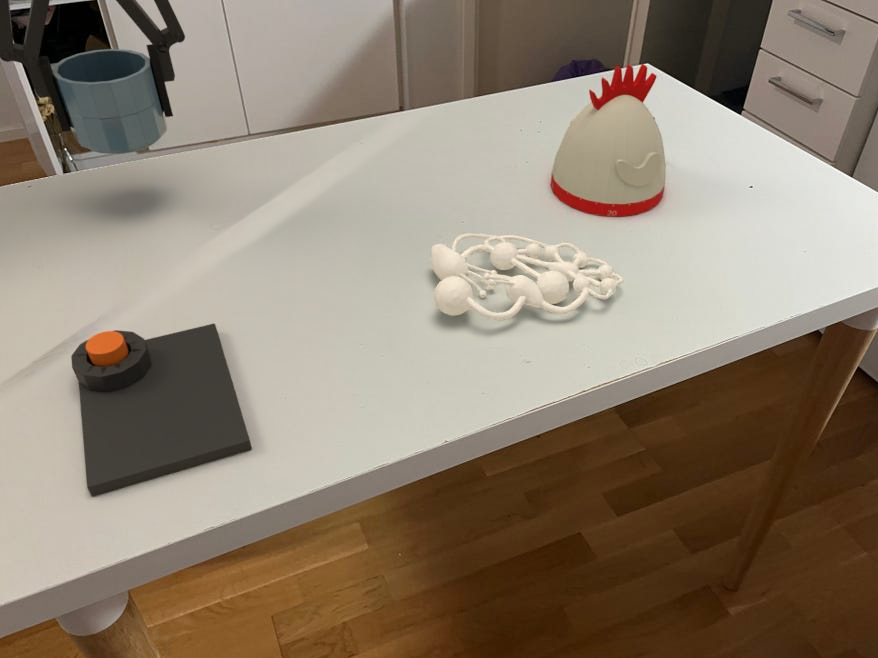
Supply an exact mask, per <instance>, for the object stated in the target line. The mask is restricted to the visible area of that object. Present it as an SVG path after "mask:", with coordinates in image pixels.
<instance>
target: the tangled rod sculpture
mask: <svg viewBox="0 0 878 658" xmlns="http://www.w3.org/2000/svg"><path fill="white" fill-rule="evenodd" d="M473 238H474V239H484V241H483V244H481V243H480V244H476V245H472V246H471V247H469V248H466V249H465V250H464V251H463V252H462V253H460V252H458V251H456V249H457V246H458V244H459V242H460V241H462V240H464V239H473ZM506 240H508V241H509V240H510V241H511V240H513V241H520V242H524V243H527V245H526V247H525V248H519V249H518V248H517V247H516V246H515V245H514V244H513V243H511V242H508V241H506ZM495 241H497V242H498V243H496V244H495V245H494V246H493V245H492V244H491V245H490V243H491V242H495ZM563 247H566V248H570V249H572V250H574V251H575V252H576V253H575V254H574V255H573V256H572V259H571V260H572V261H564V260H563V259H562V257H561V256H560V254H561V253H560V248H563ZM542 248H543V252H542ZM479 252H486V253H490V255H489V256H490V261H491V264H492V266H494V267H495V268H496V269H498V270H500V271H508V270H511V269H513V268H515V267H517V268H519V269H520V270H522V271H523V272H524V273H526V274H528V275H530V276H532V277H533V278H535V279H536V280H535V281H536V282H535V281H534V280H532V279H531V278H529V277H528V276H526V275H523V274H517V275H514V276H509V275H505V274H498V272H497V270H495V269H492V270H489V269H486V268H482V267H479V266H475V265H473V264H472V263H471V264H470V263H468V262H467V259H468V258H469V257H471V256H472V255H473V254H475V253H479ZM429 253H430V254H429V257H430V266H431V269H432V271H433V272H434V273H435V275H436V277H437V278H438V279H439V280H440V281H439V282H438V284H437V285H436V287H435V289H434V293H433V300H434V304H435V306H436V307H437V309H438V310H439V311H440V312H441V313H443V314H445V315H447V316H452V317H453V316H460V315H463V314H464V313H466V312H467V311H468V310H469V309H470V308H471V310H473V311H475V313H477V314H478V315H480V316H482V317H483V318H486V319H489V320H492V321H504V320H508V319H511V318H513V317H514V316H516V315H517V314H518V313H519V311H520V310H521V309H522V308H523V306H524V304H525V305H528V306H530V307H533V308H536V309H540V308H542V309H543V310H545V311H547V312H550V313H551V314H556V315H567V314H570V313H572V312H574V311H575V310H576V309H578V308H579V307H580V306H581V305H582V304H584V303H585V301H586V300H587V298H588V297H589V295H591V296H592V297H594V298H596V299H598V300H608V299H609V298H610V297H611V296H612V294H614V293H615V292H616V290H617V286H619V285H621V284H623V283H624V280H625V278H624V276H621V275H620V274H618V273H615V272H614V269H613V267H612V266H611V265H609V264H608V263H607V262H606V261H604V260H602V259H600V258H596V257H591V256H588V255H587V254H586V253H585V252H583V251H581V250H580V248H579V247H577V246H576V245H574V244H573V243H570V242H560V243H557V244H556V245H555V244H546V243H544V242H541V241H538V240H535V239H531V238H528V237H524V236H520V235H514V234H510V235H509V234H507V235H505V234H504V235H494V234H486V233H463V234H459V235H458V236H457V237H456V238H454V240H453V241H452V244H451V248H450V247H449V246H447V245H446V244H442V243H436V244H434V245H433V246H431V249H430V252H429ZM541 253H543V257H544V259H546V260H547V261H544V260H543V259H538V258H539V257H540V255H541ZM523 262H524V263H523ZM589 262H592V263H596V264H599V265H600V266H599V267H598V268H597V269H582V268H584V267H586V266H587V265H588V264H589ZM525 263H527V264H531V265H535V266H538V267H543V268H545V269H547V271H544V272H542V273H539V272H538V271H536V270H534V269H533V268H531V267H530V266H528V265H527V264H525ZM470 269H471V270H470ZM472 270H473V271H472ZM474 271H476V272H480V273H483V275H480V274H478V273H476V272H474ZM468 275H470V276H472V277H475V278H476V279H478V280H480V281H481V282H483V283H484V284H485V286H487V288H488V290H490V291H493V290H494V289H496V284H497V285H498V284H502V285H505V295H506V297H507V298H508V299H509V300H510V301H513V302H515V303H514V304H513V306H512V307H510V309H508V310H507V311H503V312H494V311H491V310H488V309H487V308H485V307H483V306H482V305H481V304H479V303H478V302H477V301H475V300H474V291H473V288H472V286H473V287H474V288H475V289H476V290H477V292H478V296H479V297H480V298H482V299H485V298H486V297H487V296H488V292H487V290H484V289H482V288H481V287H480V285H479V284H477V283H476V282H475V281H474V280H472V278H469V277H468ZM592 277H598V280H597V279H594V278H592ZM614 278H615V279H617V280H616V281H615V279H614ZM599 280H601V281H599ZM571 282H572V288H573V291H575V293H578V294H580V295H579V296H578V297H577V298H576V299H575V300H574V301H572V302H571V303H570V304H569V305H566V306H559V305H556V304H559V303H561V302H563V301H564V300H565V299H566V297H567V296H568V295H569V291H570V283H571ZM591 286H594V287H597V288H599V290H600V292H601V293H602V294H599V293H597V292H595V291H594V290H593V289H591V288H590V287H591ZM603 294H604V295H603Z"/></svg>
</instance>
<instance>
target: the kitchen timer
mask: <svg viewBox="0 0 878 658" xmlns="http://www.w3.org/2000/svg"><path fill="white" fill-rule="evenodd" d="M647 75H648V66H647V65H645V64H644V63H641V64H640V67H639V69H638V72H637V73H636V76H635V77H634V67H633V66H632V65H631V64H628V63H627V65H626V68H625V72H624V75H623V71H622V68H621V67H619V66H618V65H616V66H615V68H614V70H613V75H612V78H611V82H610V83H609V81H608V80H607V79H606V78H605V77H601V79H600V80H601V81H600V82H601V83H600V84H601V95H600V96H597V95H596V93H595V92H594V91H593V90H591V89H589V90H588V93H589V98H590V101H591V102H589V103H588V104H586V106H584V108H583V109H581V111H579V113H578V114H577V115H576V116H575V117H574V118H573V119H571V120H570V122H569V126H567V127H568V128H567V129H566V131H565V133H564V135H563V138H562V139H561V142H560V144H559V146H558V149H557V151H556V154H555V157H554V161H553V165H552V169H551V177H550V187H551V190H552V193H553V194H554V196H556V198H557V199H558V200H560V202H561V203H563V204H565V205H567V206H569V207H570V208H571V209H575V210H577V211H581V212H583V213H586V214H589V215H590V214H591V215H595V216H600V217H601V216H602V217H618V218H620V217H629V216H636V215H639V214H643V213H646V212H649V211H650V210H652V209H654V208H655V207H657V206H658V205H659V204H660V202H661V200H662V199H663V197H664V192H665V188H666V181H667V179H666V178H667V177H666V175H667V174H666V167H667V166H666V165H667V164H666V155H665V147H664V141H663V137H662V134H661V130H660V128H659V125H658V123H657V121H656V118H655V116H654V115H653V114H652V112H651V111H650V110H649V108H648V107H647V105H646V104H644V102H645V100H646V98H647V96H648V94H649V93H650V91H651V90H652V88H653V86H654V84H655V83H656V82H655V81H656V80H657V74H655V73H654V72H651V73H650V74H649V76H648V77H647Z"/></svg>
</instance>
